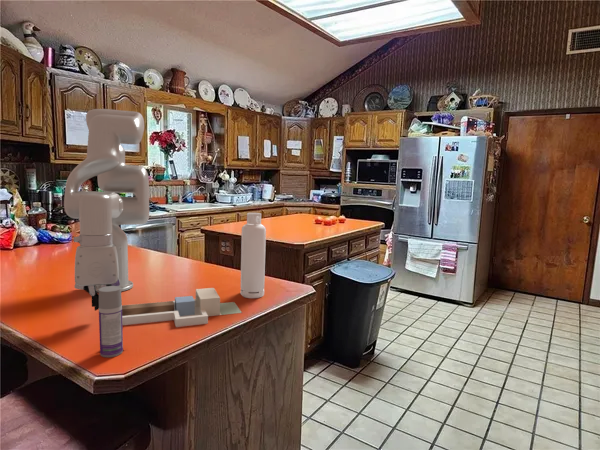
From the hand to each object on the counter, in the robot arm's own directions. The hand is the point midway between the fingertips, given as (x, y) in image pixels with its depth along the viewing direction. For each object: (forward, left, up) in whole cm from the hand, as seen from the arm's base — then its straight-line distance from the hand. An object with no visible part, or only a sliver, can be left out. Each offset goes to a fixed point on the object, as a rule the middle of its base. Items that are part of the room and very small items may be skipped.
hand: (98, 308), depth 104 cm
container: (+4, -19, -4) cm, 20 cm away
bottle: (+46, +13, -4) cm, 48 cm away
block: (+22, +1, -4) cm, 23 cm away
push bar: (+12, +1, -4) cm, 13 cm away
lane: (+22, -2, -4) cm, 22 cm away
